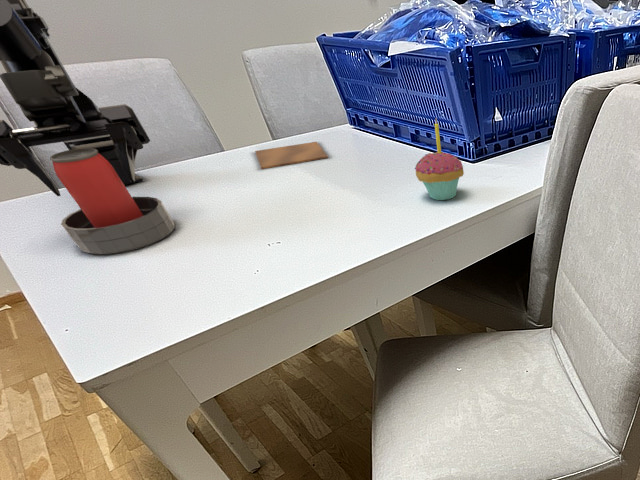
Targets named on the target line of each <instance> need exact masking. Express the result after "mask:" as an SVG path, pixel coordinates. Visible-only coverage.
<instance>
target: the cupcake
mask: <svg viewBox="0 0 640 480" xmlns="http://www.w3.org/2000/svg"><path fill="white" fill-rule="evenodd" d="M434 132H435V142H436V150H437V151H436V152H432V153H431V152H428V153H426V154H424V156H422V157H421V158H420V159H419V160H418V162H416V165H415V168H414V170H415V177H416V178H417V180H418V181H419V182H422V183H423V185H424V187H425V189H426V191H427V193H428V195H429V197H430V198H431V199H433V200H435V201H447V200H450V199H453V198H455V197H456V196H457V190H458V184H459V180H460V178H461V177H463V176H464V175H465V172H464V166H463V164H462V161H461V160H460V159H458V157H457V156H455V155H453V154H451V153H447V152H444V151H442V145H441V137H440V126H439V123H438V118H437V117H435V123H434Z"/></svg>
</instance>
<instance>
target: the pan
mask: <svg viewBox="0 0 640 480" xmlns="http://www.w3.org/2000/svg"><path fill="white" fill-rule="evenodd" d="M131 197H132V198H133V200H134V201H135V203H136V205H137V206H138V208H139V209H140V211H141V212H142V214H143V216H141V217H139V218H136V219H134V220H130V221H127V222H123V223H120V224H115V225H110V226H106V227H98V228H94V226H93V225H92V224H91V222H90V221H89V219H88V218H87V217H86V215H85V214H84V213H83V211H82V210H81V208H80V209H78V210H76V211H73V212H71V213H70V214H68V215H67V216H66V217H64V218H63V219H62V220H61V223H60V225H61V226H62V228H63V229H64V230H65V232H66V233H67V234H68V235H69V237H70V238H71V240H72V241H73V243H75V245H76V246H77V247H78V249H80V251H82V252H84V253H87V254H96V255H111V254H119V253H120V254H121V253H126V252H129V251H133V250H134V251H135V250H139V249H141V248H145V247H147V246H151V245H152V244H156V243H157V242H160V241H161V240H163V239H165V238H166V237H167V236H168V235H170V234H171V233H172V232H173V230H174V229H175V222H174V220H173V219H172V217H171V215H170V214H169V212H168V210H167V209H166V207H165V205H164V203H163V202H162V200H160V199H158V198H157V197H150V196H131Z"/></svg>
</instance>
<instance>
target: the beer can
mask: <svg viewBox="0 0 640 480" xmlns="http://www.w3.org/2000/svg"><path fill="white" fill-rule="evenodd" d="M49 160H50V161H51V162H52V166H53V170H54V173H55V175H56V176H57V178H58V179H59V181H60V182H61V184H62V185H63V187H64V188H65V190H66V191H67V192H68V193H69V195H70V196H71V198H72V199H73V200H74V202H75V203H76V204H77V206H78V207H79V208H80V209H81V210H82V211H83V213H84V214H85V215H86V217H87V218H88V219H89V221H90V222H91V224H92V225H93V226H94V228H98V227H106V226H110V225H115V224H120V223H123V222H127V221H130V220H134V219H136V218H139V217H141V216H143V214H142V212H141V211H140V209H139V208H138V206H137V205H136V203H135V201H134V200H133V198H132V197H133V196H132V195H131V194H130V192H129V190H128V189H127V187H126V185H124V184H123V182H122V181H121V179H120V178H119V176H118V175H117V173H116V171H115V170H114V168H113V167H112V165H111V164H110V163H109V162H108V161H107V160H106V159H105V158H104V157H103V156H102V155H100V154H99V153H98V150H96V149H94V148H81V149H73V150H69V149H68V150H64V151H60V152H57V153H54V154H52V155H50V157H49Z"/></svg>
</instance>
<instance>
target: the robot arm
mask: <svg viewBox="0 0 640 480" xmlns="http://www.w3.org/2000/svg"><path fill="white" fill-rule="evenodd" d="M49 30H50V27H49V25H48V24H47V23H46V21H45V19H44V18H43V17H41V16H40V15H39V14H38V13H37V12H35V10H34V9H33V8H32V7H30V6H29V4H28V3H27V1H26V0H0V64H1V65H2V67H3V69H4V71H5V72H3V73H0V80H1V82H2V83H3V85H4V86H5V88H6V90H7V91H8V93H9V94H10V96H11V98H12V99H13V101H14V102H15V104H16V105H18V106H19V108H20V110H21V112H22V113H23V115H24V117H25V118H26V119H27V120H28V121H29V122H33V124H34V125H35V126H34V127H28V128H27V127H26V128H20V129H14V128H13V127H11V126H10V124H9V123H7V121H5V119H0V165H1V166H6V167H11V166H12V167H13V168H15V169H18V170H24V169H26V170H27V171H28V172H30V173H31V174H33V175H34V176H35V177H36V178H38V179H39V180H40V181H41V182H42V183H43V184H44V185H45V186H46V187H47V188H48V189H49V190H50V191H51V192H52V193H53V194H55V196H57V197H61V196H62V195H61V192H60V190H59V188H58V186H57V184H56V183H55V182H54V180H53V178H52V177H51V176H50V174H49V173H48V171H47V170H46V168H45V167H44V166H43V164H42V162H40V161H39V160H38V159H37V157H35V154H34V152H33V151H32V149H31V148H30V147H37V146H43V145H50V144H57V143H63V144H64V146H65V147H66V148H67V149H68V150H73V149H81V148H94V149H96V150H98V153H99V154H100V155H102V156H103V157H104V158H105V159H106V160H107V161H108V162H109V163H110V164H111V165H112V167H113V168H114V170H115V171H116V173H117V175H118V176H119V178H120V179H121V181H122V182H123V184H124V186H126V185H130V184H135V183H138V182H142V181H143V178H142V177H141V176H139V175H138V174H136V159H137V154H138V151H139V150H143V149H144V145H147V144H149V143H150V142H151V139H150V137H149V135H148V134H147V131H146V130H145V128H144V126H143V124H142V122H141V121H140V120H139V118H138V116H137V114H136V113H135V111H134V109H133V108H132V107H131V106H129V105H127V104H125V103H124V104H117V105H116V104H115V105H109V106H102V107H101V106H100V107H98V106H97V104H96V103H95V102H94V100H92V99H91V98H90V97H89V96H88V95H87V94H85V93H84V92H83V91H81V90H80V89H79V88H77V87H76V85H75V84H74V82H73V80H72V78H71V77H70V75H69V73H68V72H67V70H66V68H65V66H64V65H63V63H62V61H61V60H60V58H59V57H58V55H57V53H56V51H55V50H54V48H53V46H52V44H51V42H50V41H49V39H51V38H50V36H51V35H50V33H49Z"/></svg>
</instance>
